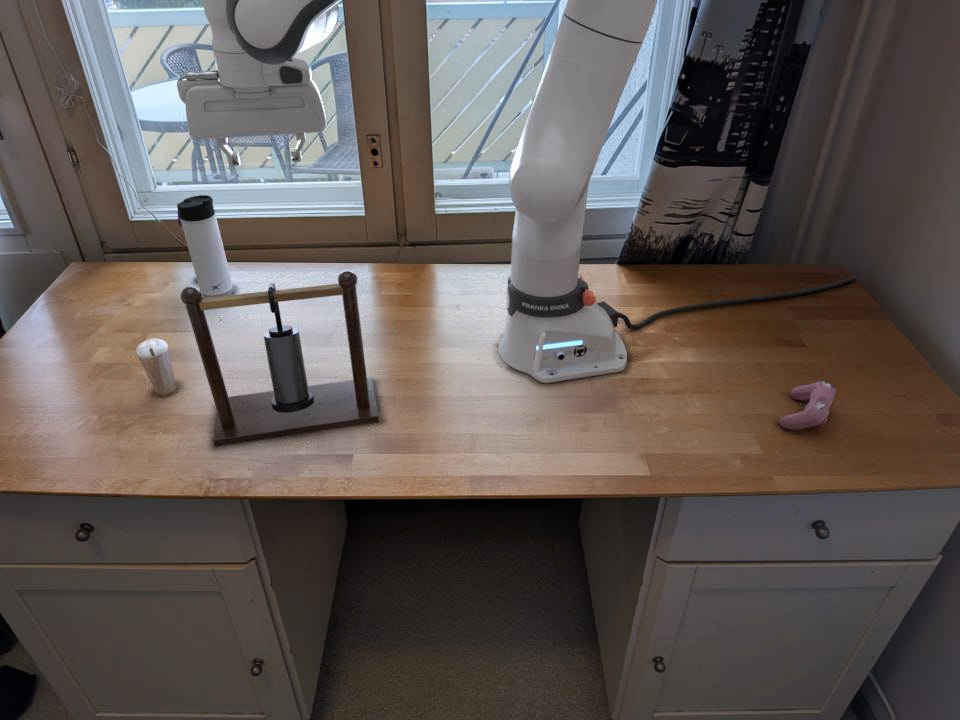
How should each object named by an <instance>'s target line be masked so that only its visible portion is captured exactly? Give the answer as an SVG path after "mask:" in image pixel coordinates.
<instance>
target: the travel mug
mask: <svg viewBox="0 0 960 720" xmlns="http://www.w3.org/2000/svg"><path fill="white" fill-rule="evenodd" d="M176 208H177V213H178V212H179V215H180V220H181V224H182V227H181V228H182V231H183V235H184V238H185V241H186V246H187V249H188V253H189V256H190V260H191V264H192V267H193V271H194V274H195V278H196V282H197V286H198V289H199V290H200V291H201V293H202V298H208V297H218V296H227V295H233V293H234V290H235V289H234V285H233V280H232V277H231V272H230V268H229V264H228V260H227V256H226V252H225V247H224V244H223V240H222V235H221V230H220V227H219V223H218V218H217V216H216V215H217V214H216V211H215V207H214V200H213V197H212V196H210V195H207V194H200V195H194V196H190V197H187V198H185V199H183V201H180V202H179V203H177V204H176Z"/></svg>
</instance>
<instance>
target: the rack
mask: <svg viewBox="0 0 960 720" xmlns="http://www.w3.org/2000/svg"><path fill="white" fill-rule="evenodd" d="M357 284H358V276H357V274H356V273H355V272H354V271H352V270H349V269H347V270H346V269H345V270H343V271H341V272H340V273H339V275H338V277H337V283H331V284H322V285H312V286H303V287H294V288H293V287H292V288H284V289H276V290H274V292H273V294H274V300H275V302H278V303H281V302H291V301H300V300H309V299H316V298H326V297H336V296H341V297H342V302H343V303H342V305H343V311H344V319H345V328H346V333H347V334H346V335H347V342H348V350H349V356H350V363H351V364H350V365H351V373H352V378H353V379H351V380H344V381H336V382H329V383H320V384H314V385H308V391H310V392H312V393H313V396H314V403H313V404H312V405H311V406H309V407H308V408H306V409H303V410H300V411H295V412H285V413H284V412H277V411H275V410H273V408H272V404H271V400H272V399H273V398H274V397H275V396H274V390H269V391H262V392H255V393H254V392H253V393H248V394H240V395H233V396H229V394H228V391H227V387H226V384H225V380H224V376H223V373H222V369H221V366H220V363H219V362H220V361H219V359H218V354H217V351H216V347H215V344H214V341H213V337H212V333H211V329H210V326H209V323H208V319H207V316H206V312H205V311H209V310H216V309H227V308H235V307H245V306H254V305H262V304H269V298H268V290H266V291H256V292H248V293H247V292H246V293H237V294H230V295H227V296H218V297H208V298H203V297H202V293H201V291H200V288H199V287H196V286H193V285H190V286H186V287H185V288H183V289H182V290H181V292H180V300H181V302H182V303H183V304H184V305H185V308H186V312H187V314H188V315H187V316H188V318H189V321H190V325H191V328H192V332H193V336H194V339H195V342H196V345H197V348H198V349H197V350H198V352H199V356H200V359H201V362H202V366H203V368H204V372H205V375H206V378H207V379H206V380H207V382H208V386H209V389H210V392H211V395H212V399H213V402H214V405H215V406H214V407H215V410H216V415H215V423H214V430H213V437H212V442H213V445H214V447H219V446H225V445H233V444H239V443H245V442H246V443H247V442H253V441H260V440H266V439H267V440H268V439H272V438H280V437H286V436H293V435H301V434H306V433H313V432H321V431H327V430H334V429H339V428H347V427H353V426H359V425H367V424H373V423H379V422H380V418H379V417H380V416H379V411H378V406H377V405H378V404H377V400H376V393H375V389H374V383H373V378H372V377H367V367H366V360H365V351H364V343H363V335H362V325H361V318H360V309H359V302H358V301H359V300H358V292H357V291H358V290H357Z"/></svg>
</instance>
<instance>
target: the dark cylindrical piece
mask: <svg viewBox="0 0 960 720" xmlns="http://www.w3.org/2000/svg"><path fill="white" fill-rule="evenodd" d="M274 290H277V288H276V284H275V283H274V282H270V283H269V285H268V289H267V291H268V298H269V303H268V304H269V309H270V313H272V314H274V317H275V323H276V326H273V327H271V328H268V331H266V332H265V333H264V334H263V340H264V347H265V350H266V357H267V363H268V369H269V373H270V378H271V385H272V391H274V396H275V397H274V398H273V399H272V400H271V404H272V408H273V410H275V411H277V412H284V413H285V412H295V411H300V410H303V409H306V408H308V407H309V406H311V405H312V404H313V403H314V396H313V393H312V392H310V391H308V386H309V385H308V381H307V374H306V373H307V372H306V367H305V361H304V355H303V349H302V344H301V336H300V332H299V329H298V328H296V327H293V326H292V325H288V324H287V325H285V324H284V325H283V323H282V318H281V312H280V311H281V310H280V306H279V302H275V300H274V294H273V292H274Z"/></svg>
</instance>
